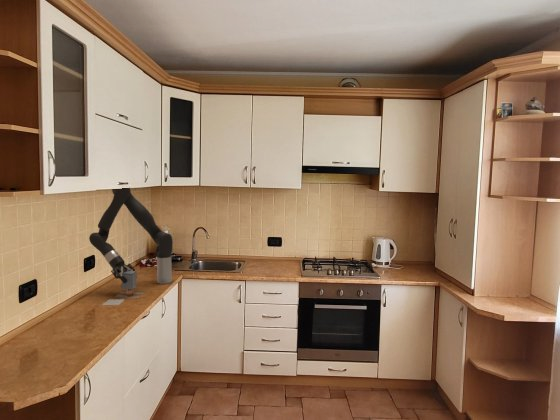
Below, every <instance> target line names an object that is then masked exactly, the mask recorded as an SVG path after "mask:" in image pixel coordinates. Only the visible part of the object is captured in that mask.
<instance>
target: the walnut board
mask: <svg viewBox="0 0 560 420" xmlns="http://www.w3.org/2000/svg"><path fill="white" fill-rule="evenodd" d="M132 291H133V295H129V296H128V295H127V290H121V291H120V292H119V293H118V294H117V295H115V296H114V297H113V298H112V299H125V300H126V299H131V300H132V299H135V300H136V299H139V298H140V297H141V296H142V295H143V294H145V292H146V290H132Z"/></svg>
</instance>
